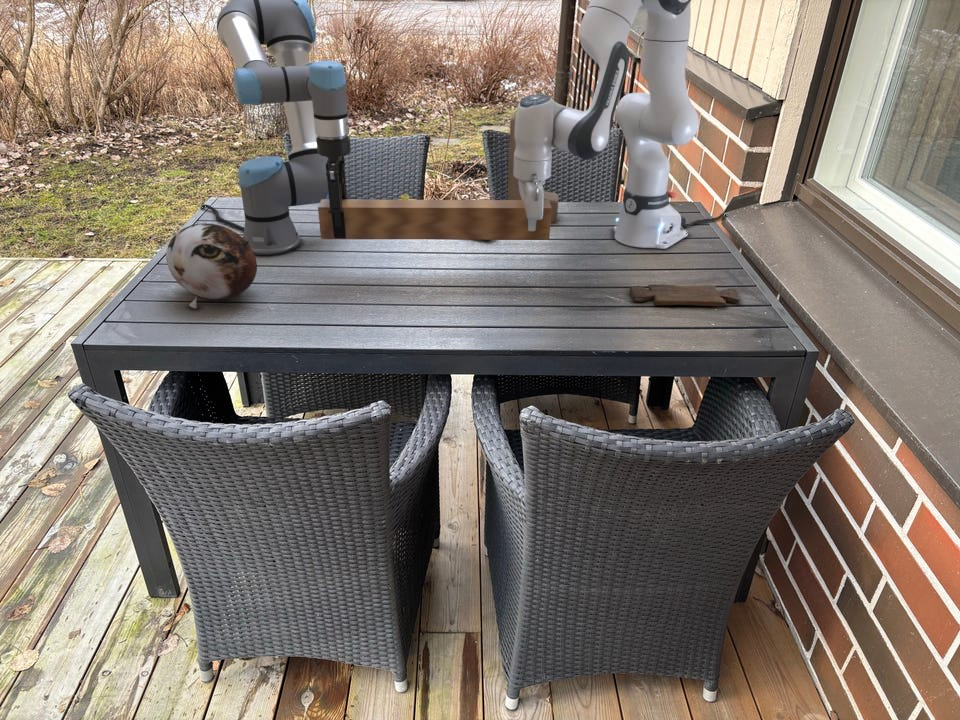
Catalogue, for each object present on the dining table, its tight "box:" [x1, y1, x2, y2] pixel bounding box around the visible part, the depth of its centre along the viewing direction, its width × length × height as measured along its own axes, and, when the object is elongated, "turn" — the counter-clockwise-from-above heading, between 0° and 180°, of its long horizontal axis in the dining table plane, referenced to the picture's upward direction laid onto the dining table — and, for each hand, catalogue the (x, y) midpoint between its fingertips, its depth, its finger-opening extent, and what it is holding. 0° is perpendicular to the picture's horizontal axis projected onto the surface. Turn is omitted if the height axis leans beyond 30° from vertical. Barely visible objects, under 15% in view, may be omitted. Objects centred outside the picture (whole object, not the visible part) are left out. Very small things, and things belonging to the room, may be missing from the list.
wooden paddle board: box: [629, 284, 740, 307], centre depth 171 cm, size 26×2×10 cm
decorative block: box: [507, 112, 560, 223], centre depth 211 cm, size 8×15×30 cm, turn 82°
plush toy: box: [165, 222, 258, 309], centre depth 165 cm, size 22×18×20 cm
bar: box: [317, 199, 552, 241], centre depth 173 cm, size 55×6×8 cm, turn 93°
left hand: (341, 232), depth 173 cm, fingers closed on bar, 6 cm apart
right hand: (529, 224), depth 175 cm, fingers closed on bar, 5 cm apart
